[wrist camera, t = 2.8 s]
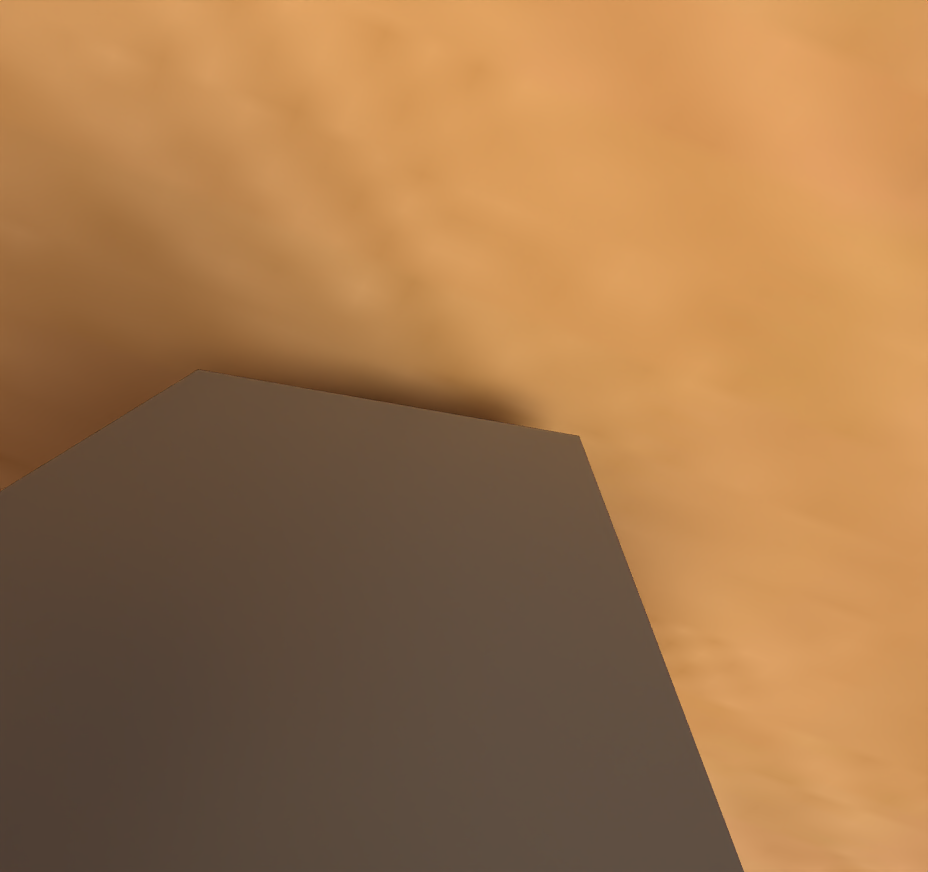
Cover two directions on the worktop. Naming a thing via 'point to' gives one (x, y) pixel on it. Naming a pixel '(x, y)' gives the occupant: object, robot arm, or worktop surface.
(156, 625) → the matte grey cube
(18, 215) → the worktop surface
